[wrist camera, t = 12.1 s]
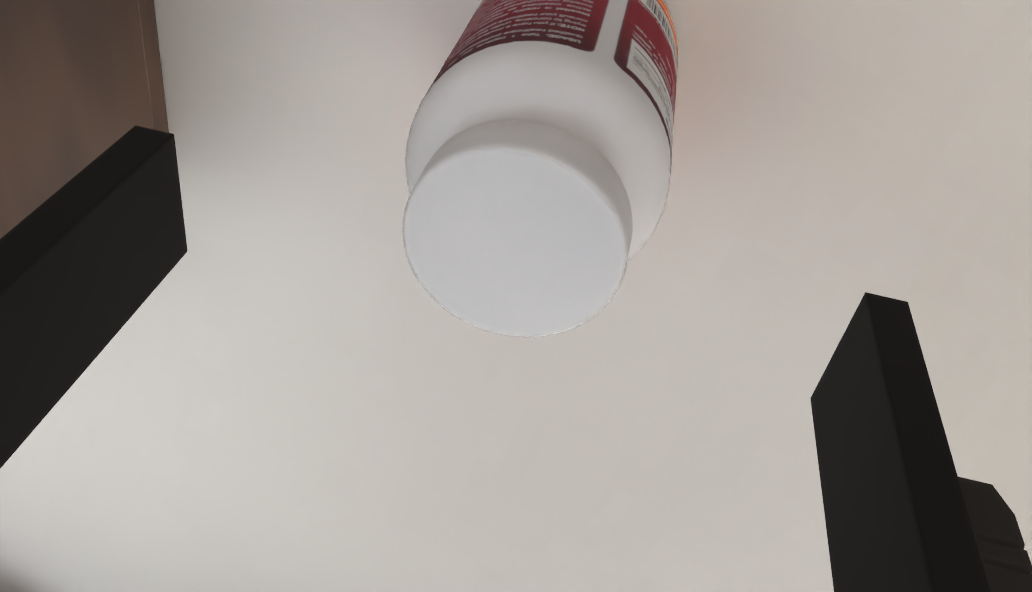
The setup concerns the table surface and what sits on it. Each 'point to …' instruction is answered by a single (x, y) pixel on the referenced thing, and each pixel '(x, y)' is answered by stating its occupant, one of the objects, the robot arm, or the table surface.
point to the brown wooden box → (70, 91)
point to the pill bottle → (541, 160)
